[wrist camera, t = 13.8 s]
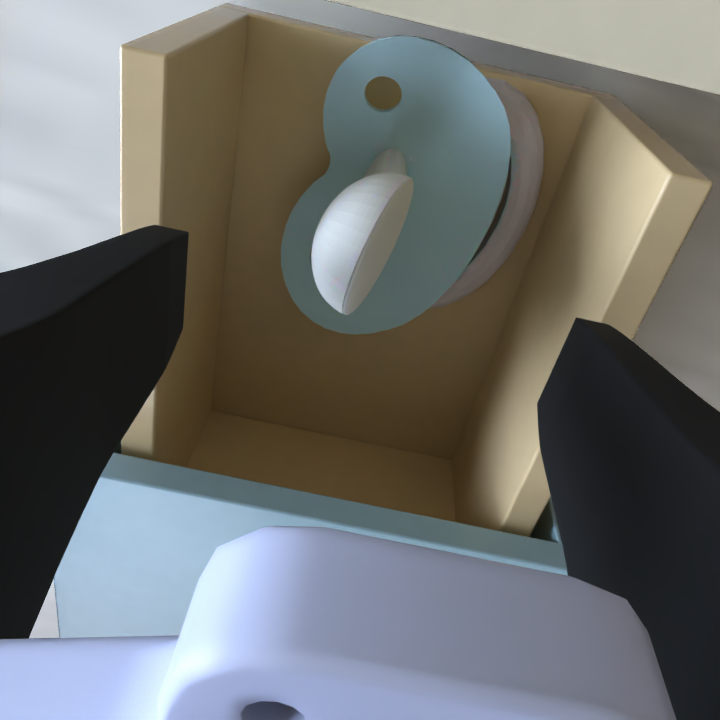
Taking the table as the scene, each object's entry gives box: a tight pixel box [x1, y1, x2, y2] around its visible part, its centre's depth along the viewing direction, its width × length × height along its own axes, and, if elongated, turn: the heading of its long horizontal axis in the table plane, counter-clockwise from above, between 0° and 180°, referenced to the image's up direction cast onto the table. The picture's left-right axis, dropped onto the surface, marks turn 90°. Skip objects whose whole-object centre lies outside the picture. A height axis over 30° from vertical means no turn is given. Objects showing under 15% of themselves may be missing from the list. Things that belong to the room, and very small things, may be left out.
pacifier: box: [281, 36, 544, 335], centre depth 15 cm, size 7×6×6 cm
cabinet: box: [54, 442, 568, 638], centre depth 23 cm, size 17×13×9 cm
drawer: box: [120, 0, 720, 537], centre depth 15 cm, size 21×11×7 cm, turn 168°
